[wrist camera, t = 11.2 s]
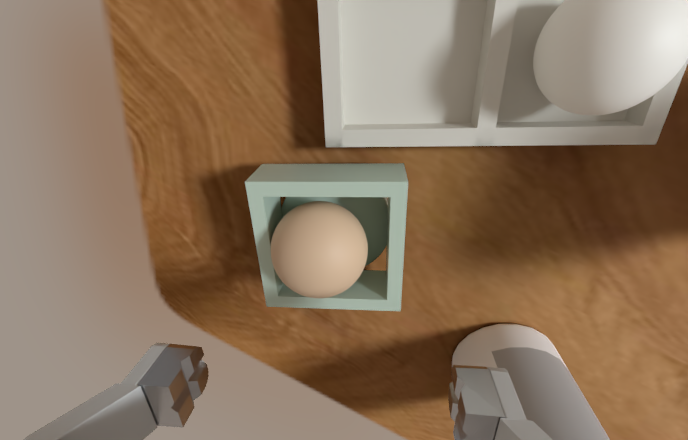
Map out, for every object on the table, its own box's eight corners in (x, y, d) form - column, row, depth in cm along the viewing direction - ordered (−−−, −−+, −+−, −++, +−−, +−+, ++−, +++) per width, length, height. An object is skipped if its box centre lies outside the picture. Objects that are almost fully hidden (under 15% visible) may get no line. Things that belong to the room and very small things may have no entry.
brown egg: (376, 269, 18) (353, 328, 14) (299, 257, 20) (259, 309, 16) (378, 191, 16) (351, 235, 12) (292, 183, 18) (243, 221, 14)
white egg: (612, 104, 15) (701, 125, 11) (506, 106, 15) (552, 127, 11) (652, -21, 13) (779, -52, 9) (528, -15, 13) (594, -42, 9)
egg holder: (396, 265, 21) (400, 311, 17) (285, 263, 21) (266, 306, 18) (401, 154, 18) (408, 181, 14) (270, 155, 18) (244, 181, 15)
